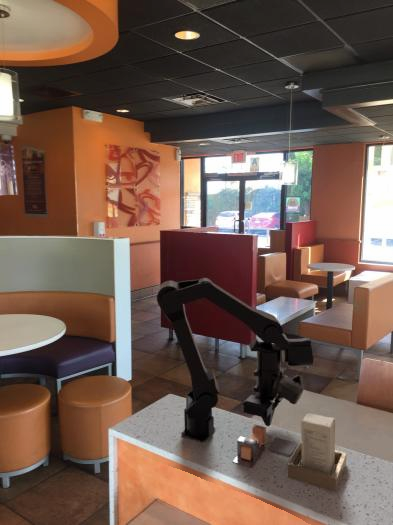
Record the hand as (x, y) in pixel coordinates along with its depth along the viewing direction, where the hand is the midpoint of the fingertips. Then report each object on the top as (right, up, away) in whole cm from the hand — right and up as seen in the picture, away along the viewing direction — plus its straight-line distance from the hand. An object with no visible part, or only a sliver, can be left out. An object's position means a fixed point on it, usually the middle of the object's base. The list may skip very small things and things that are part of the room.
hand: (268, 425), depth 111 cm
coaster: (+2, -3, -7) cm, 8 cm away
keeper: (-6, -3, -9) cm, 11 cm away
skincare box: (+8, -4, -16) cm, 18 cm away
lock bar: (-4, -3, -7) cm, 9 cm away
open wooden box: (+8, -4, -16) cm, 18 cm away
